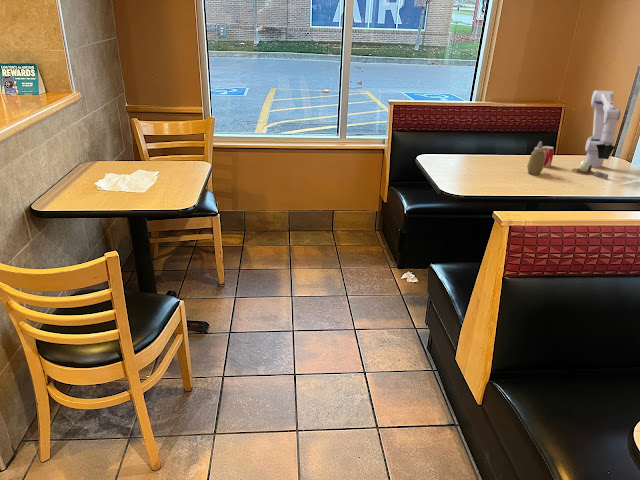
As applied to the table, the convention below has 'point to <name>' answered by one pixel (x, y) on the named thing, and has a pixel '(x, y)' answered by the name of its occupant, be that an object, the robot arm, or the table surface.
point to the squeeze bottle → (536, 160)
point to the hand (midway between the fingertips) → (603, 158)
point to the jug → (584, 165)
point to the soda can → (548, 156)
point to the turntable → (591, 173)
